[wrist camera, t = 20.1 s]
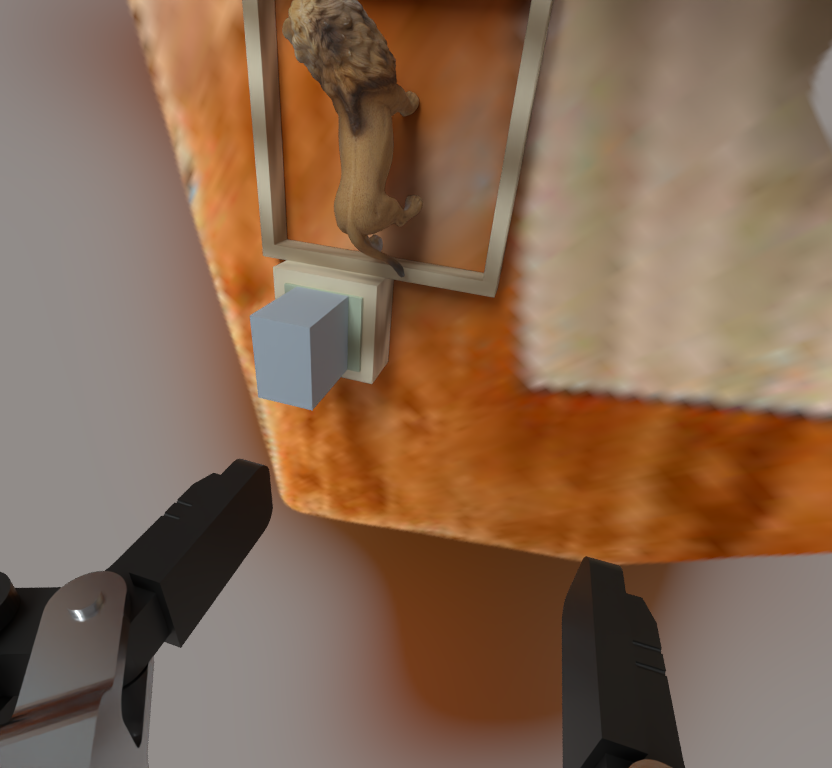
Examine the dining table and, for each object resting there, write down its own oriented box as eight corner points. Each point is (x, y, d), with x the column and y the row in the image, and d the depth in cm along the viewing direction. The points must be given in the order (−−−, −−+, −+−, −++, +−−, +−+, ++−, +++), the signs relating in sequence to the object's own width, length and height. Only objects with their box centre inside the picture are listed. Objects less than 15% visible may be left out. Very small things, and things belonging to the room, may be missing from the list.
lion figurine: (337, 51, 29) (247, -19, 21) (413, 26, 28) (348, -62, 20) (374, 280, 33) (310, 295, 25) (443, 271, 32) (398, 283, 23)
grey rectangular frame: (256, -50, 27) (211, -76, 24) (560, -36, 24) (560, -64, 21) (282, 339, 41) (255, 359, 37) (479, 381, 38) (471, 408, 34)
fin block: (296, 286, 33) (249, 315, 28) (348, 296, 32) (309, 328, 27) (300, 359, 36) (258, 397, 31) (347, 369, 35) (312, 410, 30)
